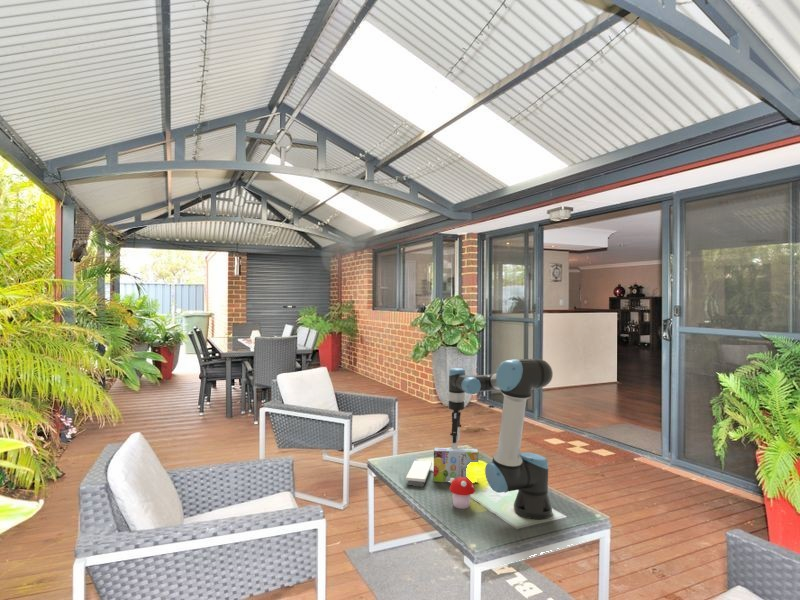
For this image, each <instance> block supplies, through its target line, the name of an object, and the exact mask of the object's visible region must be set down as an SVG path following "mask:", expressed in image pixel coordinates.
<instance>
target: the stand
mask: <svg viewBox="0 0 800 600" xmlns="http://www.w3.org/2000/svg"><path fill="white" fill-rule="evenodd" d="M432 465H433V462H432V461H425V460H413V463H412V464H411V467H410V468H409V470H408V473H407V475H406V477H405V481H408V483H407V485H413V486H412V487H419V486H420V487H421V488H424V486H425V484H426V482H427V478H428V475H429V472H430V470H431V468H432Z"/></svg>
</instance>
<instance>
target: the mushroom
mask: <svg viewBox="0 0 800 600" xmlns="http://www.w3.org/2000/svg"><path fill="white" fill-rule="evenodd" d="M449 483H450V486H449V491H450V492H451V493H452V496H451V497H452V503H453V507H454V508H457V509H460V510H466V509H468V508H469V507H470V505H471V504H470V503H471V495H473V494H474V493H475V492H476V489H475V485H474V483H472V482H471V481H470V480H469V479H468V478H467V477H458V478H456V479H454V478H450V482H449Z"/></svg>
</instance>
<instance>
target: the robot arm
mask: <svg viewBox="0 0 800 600" xmlns="http://www.w3.org/2000/svg"><path fill="white" fill-rule="evenodd" d="M448 371H449V375H448V393H447V396H448V409H449V410H452V413H451V432H450V434H449V435H450V436H451V449H456V450H457V449H458V442H460V441H461V437H460V436H461V435H460V434H461V430H460V429H461V428H462V424H461V414H462V413H461V411H463V410H464V409H465V398H466V397H465V396H466V395H465V394H468V395H469V394H470V395H475V394H478V393H479V392H482V393H483V392H493V391H494V392H495V391H500V393H501V394H502V395H503V401H502V404H503V405H502V411H501V419H500V420H501V421H500V426H499V427H500V428H499V437H498V442H497V443H498V444H497V450H496V452H494V453H493V455H492V459H491V460H492V462H491V461H489V462H487V464H485V468H484V474H485V477H486V481H487V483H488V486H489V487H490V489H492V490H493V492H494V493H495V492H496V493H498V494H499V493H500V494H501V493H508V492H512V491H513V492H514V491H517V493H516V496H515V500H514V501H513V502H514V503H513V511H514V512H515V513H516V514H517V515H520V516H522V517H523V518H528V519H533V520H544V519H548V518H550V517H552V514H553V507H552V503H551V501H550V498H549V494H548V493H549V492H548V491H549V462H548V461H549V460H548V459H547V458H546V457H545V456H543V455H540V454H539V453H538V454H537V453H533V452H521V446H522V438H523V437H522V436H523V430H524V429H523V428H524V421H525V414H526V405H527V400H528V399H530V398H531V397H532V391H533V389H541V388H544V387H546V386H548V385H549V384H550V383H551V382H552V379H553V375H554V374H553V369H552V366H551V365H550V364H549V363H548V362H547V361H546V360H543V359H541V358H522V359H521V358H520V359H518V358H512V359H508V360H504V361H502V362H501V363H500V364H499V366H498V368H497V370H496V373H491V374H481V375H468V374H466V370H465V368H461V367H452V368H450V369H449V370H448Z"/></svg>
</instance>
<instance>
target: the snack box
mask: <svg viewBox="0 0 800 600" xmlns="http://www.w3.org/2000/svg"><path fill="white" fill-rule="evenodd" d="M470 462H478V463H479V450H478V449H475V448H457V450H456V449H451V448H449V447H433V482H436V483H437V482H438V483H449V482H448V481H450V478H454V479H456V478H458V477H466V468H467V465H468V464H469V463H470Z"/></svg>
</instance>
